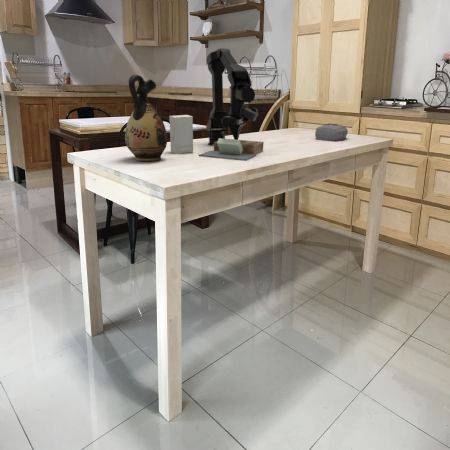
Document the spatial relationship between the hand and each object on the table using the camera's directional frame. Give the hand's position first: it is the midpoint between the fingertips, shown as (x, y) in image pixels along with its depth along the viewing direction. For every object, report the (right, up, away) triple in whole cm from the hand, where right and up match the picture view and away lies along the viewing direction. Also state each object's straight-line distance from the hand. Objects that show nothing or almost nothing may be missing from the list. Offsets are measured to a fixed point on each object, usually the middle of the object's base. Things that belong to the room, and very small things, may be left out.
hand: (236, 140), depth 175 cm
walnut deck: (+1, -4, +5) cm, 6 cm away
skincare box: (-23, -5, 0) cm, 23 cm away
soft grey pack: (+52, +11, +51) cm, 74 cm away
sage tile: (-2, -2, -5) cm, 6 cm away
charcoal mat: (-4, -7, -6) cm, 10 cm away
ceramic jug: (-34, -11, -17) cm, 40 cm away
